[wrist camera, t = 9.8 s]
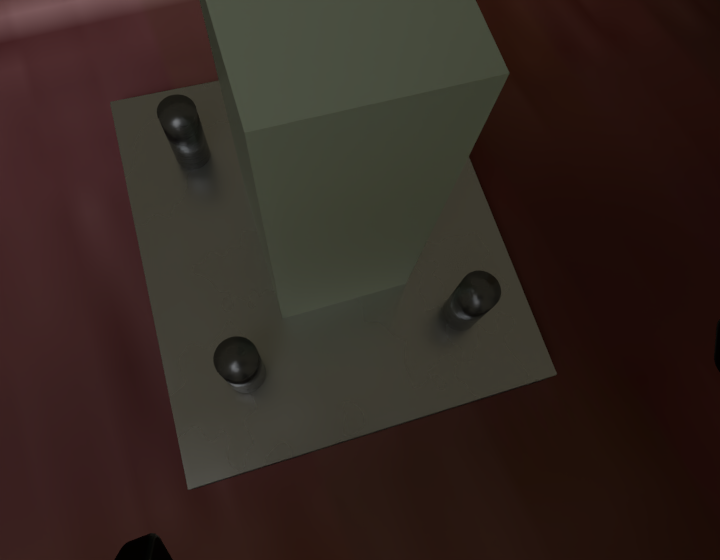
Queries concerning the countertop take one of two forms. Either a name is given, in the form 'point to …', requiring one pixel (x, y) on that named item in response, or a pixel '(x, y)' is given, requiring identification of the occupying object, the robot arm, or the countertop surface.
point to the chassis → (309, 329)
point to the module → (350, 130)
